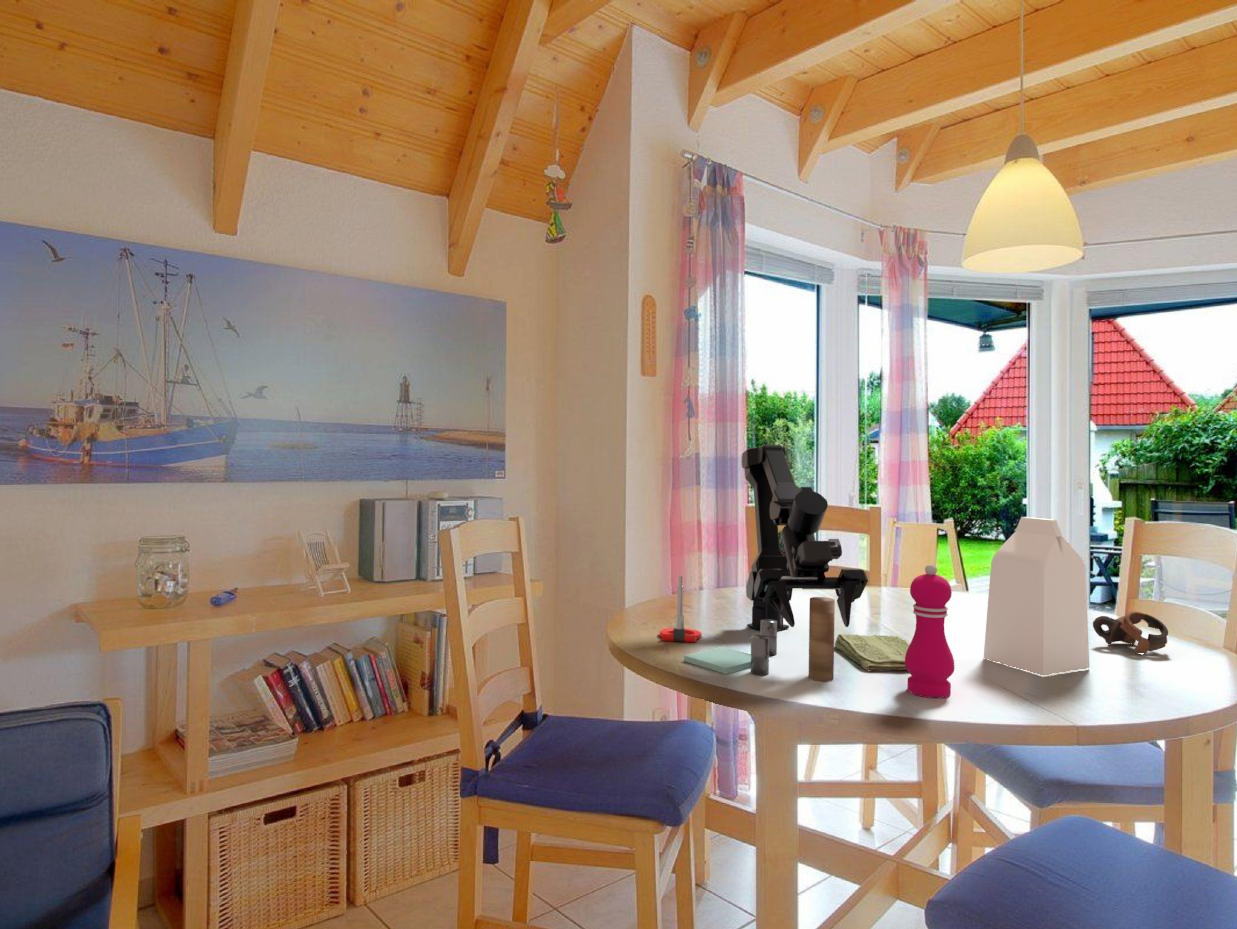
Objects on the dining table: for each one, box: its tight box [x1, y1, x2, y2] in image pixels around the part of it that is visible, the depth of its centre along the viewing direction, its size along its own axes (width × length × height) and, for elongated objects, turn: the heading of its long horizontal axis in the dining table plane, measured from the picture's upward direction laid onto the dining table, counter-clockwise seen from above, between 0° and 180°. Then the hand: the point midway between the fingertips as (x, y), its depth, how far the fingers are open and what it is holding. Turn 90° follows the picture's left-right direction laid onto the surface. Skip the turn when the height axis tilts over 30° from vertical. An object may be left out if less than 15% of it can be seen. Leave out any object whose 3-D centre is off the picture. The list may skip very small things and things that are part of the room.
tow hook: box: [659, 575, 703, 644], centre depth 153 cm, size 8×13×9 cm
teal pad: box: [683, 646, 751, 675], centre depth 134 cm, size 10×10×1 cm
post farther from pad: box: [759, 619, 778, 657], centre depth 141 cm, size 3×3×6 cm
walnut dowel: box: [808, 596, 836, 682], centre depth 126 cm, size 4×4×13 cm
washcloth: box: [834, 633, 910, 672], centre depth 138 cm, size 13×18×3 cm
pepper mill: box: [905, 563, 955, 698], centre depth 119 cm, size 7×7×20 cm
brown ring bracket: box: [1092, 611, 1169, 655], centre depth 146 cm, size 12×10×8 cm
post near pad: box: [750, 634, 770, 676], centre depth 128 cm, size 3×3×6 cm
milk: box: [983, 516, 1090, 675], centre depth 135 cm, size 12×12×26 cm
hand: (820, 625), depth 127 cm, fingers open, 9 cm apart
